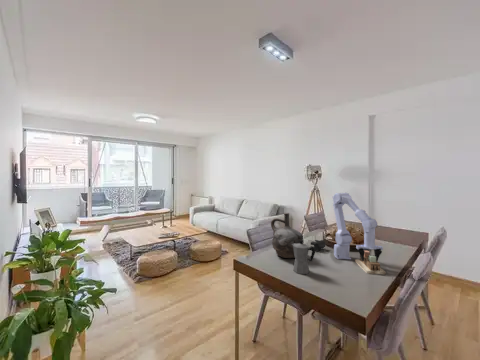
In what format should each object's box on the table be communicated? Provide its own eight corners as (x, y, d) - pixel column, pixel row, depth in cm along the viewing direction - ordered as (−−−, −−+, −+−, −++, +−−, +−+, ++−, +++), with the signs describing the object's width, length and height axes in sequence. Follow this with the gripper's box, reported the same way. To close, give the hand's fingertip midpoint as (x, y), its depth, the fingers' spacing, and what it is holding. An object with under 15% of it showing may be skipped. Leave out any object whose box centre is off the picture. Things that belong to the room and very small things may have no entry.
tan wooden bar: (380, 270, 130) (380, 263, 130) (370, 270, 131) (370, 263, 131) (368, 260, 146) (368, 254, 146) (359, 260, 147) (359, 253, 147)
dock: (366, 273, 130) (366, 270, 130) (355, 261, 148) (355, 259, 148) (385, 274, 129) (385, 271, 129) (371, 262, 147) (371, 259, 147)
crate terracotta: (364, 256, 141) (364, 252, 141) (362, 255, 144) (362, 250, 144) (369, 257, 141) (369, 252, 141) (367, 255, 144) (367, 250, 144)
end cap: (319, 252, 165) (319, 243, 165) (310, 250, 171) (310, 241, 171) (325, 249, 172) (325, 240, 172) (316, 247, 177) (316, 238, 177)
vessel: (263, 257, 155) (263, 214, 155) (274, 248, 175) (274, 209, 174) (299, 264, 144) (299, 217, 143) (306, 253, 163) (307, 212, 162)
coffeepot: (286, 269, 135) (287, 239, 135) (295, 265, 142) (295, 236, 141) (310, 278, 124) (310, 245, 124) (319, 273, 131) (319, 242, 130)
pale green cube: (370, 261, 133) (370, 256, 133) (368, 260, 136) (368, 255, 136) (376, 262, 133) (376, 257, 133) (373, 260, 136) (373, 255, 136)
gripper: (359, 240, 135) (359, 263, 136) (385, 241, 133) (385, 264, 134) (355, 237, 142) (354, 258, 143) (379, 237, 140) (379, 259, 141)
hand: (369, 261), depth 139 cm, fingers open, 7 cm apart
